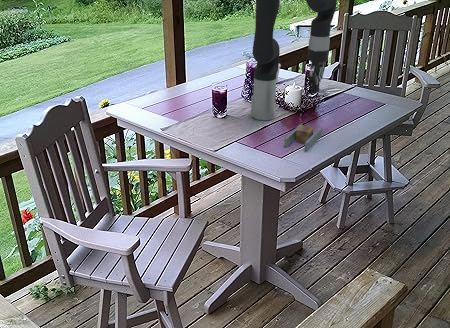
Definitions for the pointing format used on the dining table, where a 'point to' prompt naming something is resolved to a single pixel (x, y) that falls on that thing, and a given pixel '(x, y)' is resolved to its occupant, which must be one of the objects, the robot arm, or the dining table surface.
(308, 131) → the block
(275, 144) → the dining table surface
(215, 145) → the dining table surface
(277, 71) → the smoothie
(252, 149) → the dining table surface
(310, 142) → the channel
